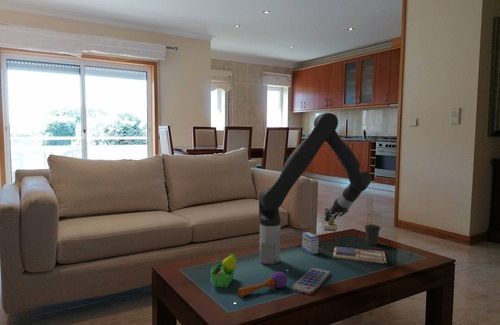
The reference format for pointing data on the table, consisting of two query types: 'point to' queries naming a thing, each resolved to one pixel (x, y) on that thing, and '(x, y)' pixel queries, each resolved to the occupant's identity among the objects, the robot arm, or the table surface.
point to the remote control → (311, 280)
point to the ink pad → (345, 251)
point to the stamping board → (364, 256)
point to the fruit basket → (224, 272)
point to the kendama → (265, 284)
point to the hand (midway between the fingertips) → (328, 219)
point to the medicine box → (310, 243)
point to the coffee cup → (372, 234)
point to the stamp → (330, 225)
